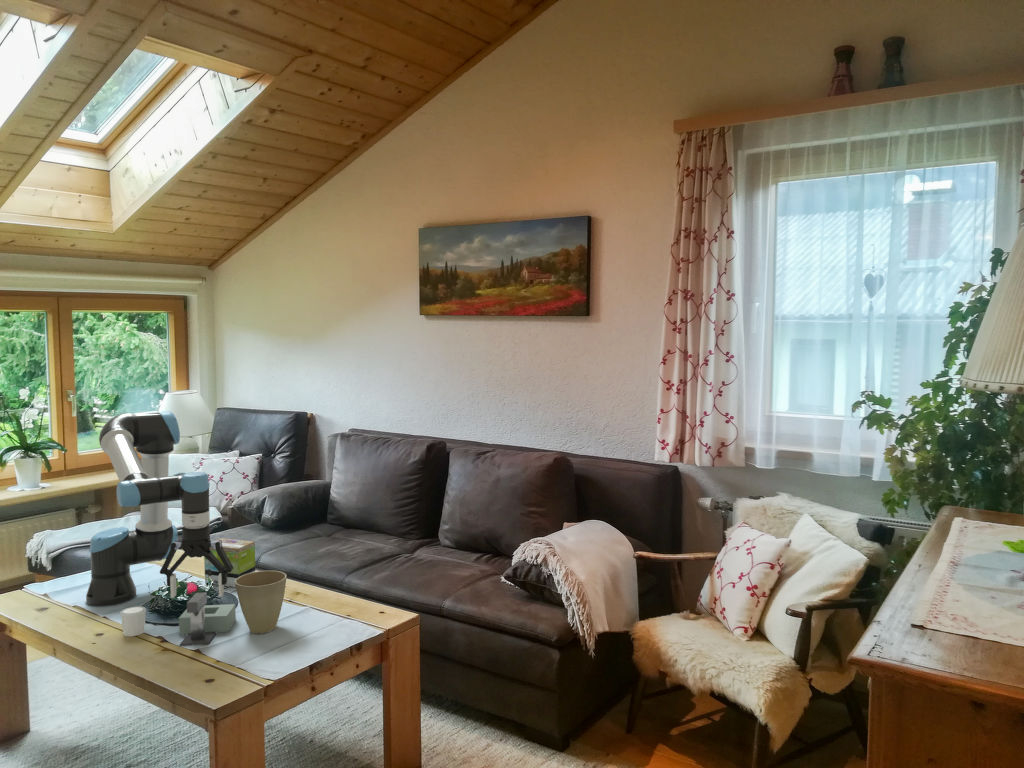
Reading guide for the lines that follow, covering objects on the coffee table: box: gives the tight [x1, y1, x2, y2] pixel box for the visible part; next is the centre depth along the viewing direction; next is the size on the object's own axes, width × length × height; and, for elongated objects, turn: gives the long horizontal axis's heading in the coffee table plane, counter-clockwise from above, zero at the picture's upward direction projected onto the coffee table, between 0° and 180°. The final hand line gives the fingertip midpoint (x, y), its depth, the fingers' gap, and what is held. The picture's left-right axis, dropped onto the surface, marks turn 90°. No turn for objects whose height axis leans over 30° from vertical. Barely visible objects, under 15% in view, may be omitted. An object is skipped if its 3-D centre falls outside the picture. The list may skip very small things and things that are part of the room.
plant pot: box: [235, 570, 287, 634], centre depth 228 cm, size 15×15×16 cm
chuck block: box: [178, 603, 237, 635], centre depth 230 cm, size 14×10×5 cm
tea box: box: [203, 537, 256, 588], centre depth 272 cm, size 15×10×15 cm
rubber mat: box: [179, 632, 217, 647], centre depth 221 cm, size 8×8×1 cm
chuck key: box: [186, 592, 208, 640], centre depth 220 cm, size 9×4×12 cm, turn 6°
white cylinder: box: [120, 605, 147, 637], centre depth 226 cm, size 7×7×7 cm
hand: (197, 595), depth 221 cm, fingers open, 13 cm apart
